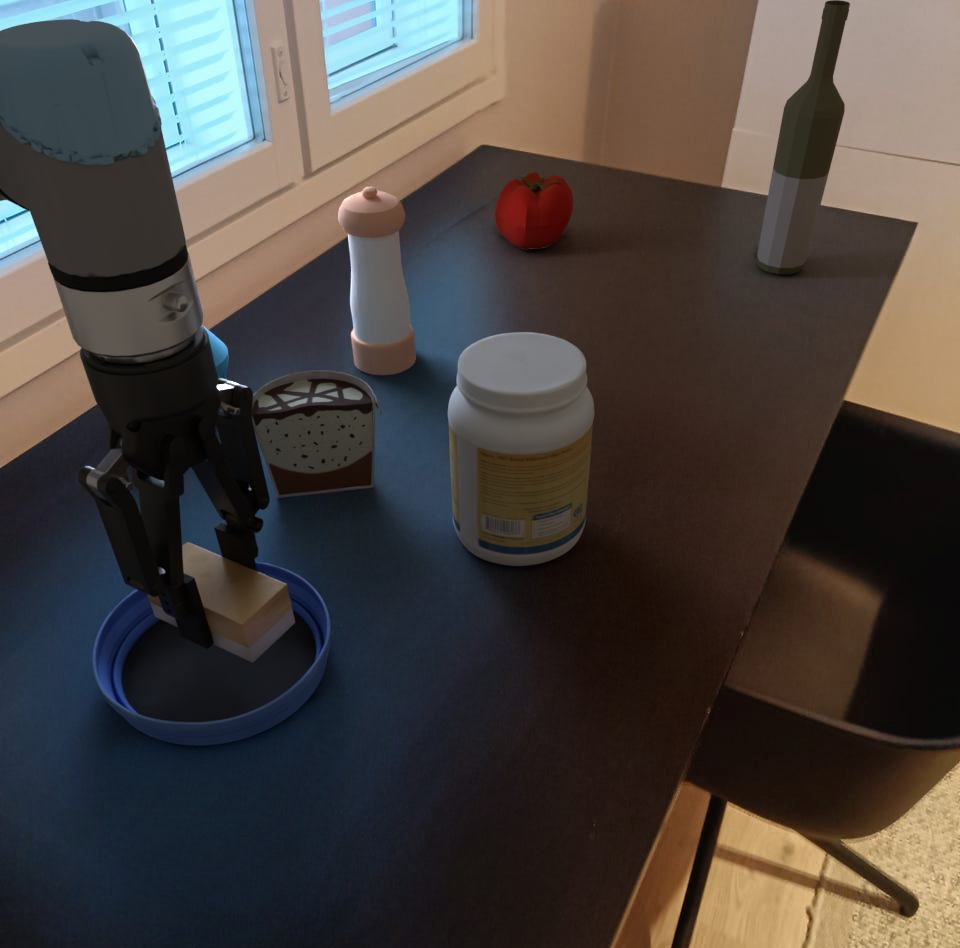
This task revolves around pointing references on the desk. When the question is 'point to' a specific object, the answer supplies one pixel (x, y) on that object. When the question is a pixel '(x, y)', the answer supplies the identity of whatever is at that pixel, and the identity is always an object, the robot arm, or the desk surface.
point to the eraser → (235, 603)
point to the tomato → (534, 210)
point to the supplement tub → (520, 447)
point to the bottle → (804, 154)
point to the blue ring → (209, 671)
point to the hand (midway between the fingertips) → (223, 616)
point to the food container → (316, 432)
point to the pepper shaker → (377, 283)
